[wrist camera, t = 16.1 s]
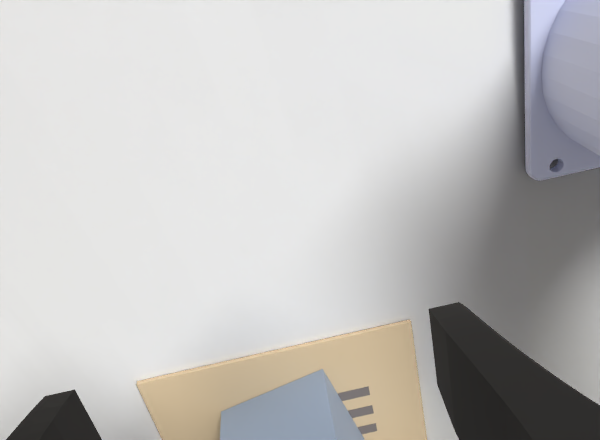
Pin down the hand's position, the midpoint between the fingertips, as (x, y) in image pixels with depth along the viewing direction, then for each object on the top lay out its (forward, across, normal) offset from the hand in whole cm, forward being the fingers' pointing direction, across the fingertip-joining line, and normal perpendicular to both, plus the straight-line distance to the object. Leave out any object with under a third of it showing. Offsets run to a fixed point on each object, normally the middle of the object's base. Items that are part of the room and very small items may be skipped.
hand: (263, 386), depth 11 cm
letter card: (+10, +1, +12) cm, 16 cm away
